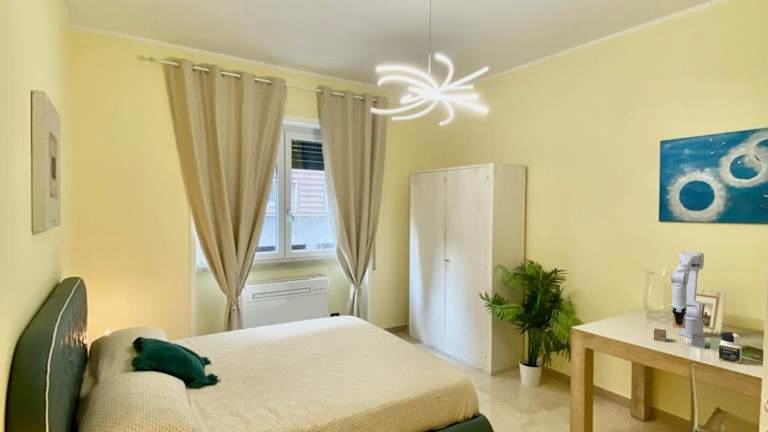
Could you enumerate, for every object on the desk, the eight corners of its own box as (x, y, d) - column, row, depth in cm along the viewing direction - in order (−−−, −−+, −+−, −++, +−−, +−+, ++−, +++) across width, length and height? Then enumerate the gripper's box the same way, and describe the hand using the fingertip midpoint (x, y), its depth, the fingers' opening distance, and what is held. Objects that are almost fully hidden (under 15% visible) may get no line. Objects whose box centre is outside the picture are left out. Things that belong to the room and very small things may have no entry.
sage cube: (710, 347, 199) (710, 336, 199) (723, 349, 196) (723, 338, 196) (710, 349, 195) (710, 339, 195) (724, 352, 192) (724, 341, 192)
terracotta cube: (673, 324, 207) (673, 314, 206) (685, 326, 204) (685, 316, 203) (672, 327, 203) (672, 317, 202) (685, 328, 200) (685, 318, 199)
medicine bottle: (718, 360, 182) (718, 333, 182) (720, 355, 188) (721, 329, 187) (739, 364, 177) (740, 336, 177) (741, 359, 182) (741, 333, 182)
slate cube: (692, 343, 204) (692, 333, 204) (704, 345, 201) (704, 335, 201) (691, 346, 200) (691, 336, 200) (704, 348, 197) (704, 338, 197)
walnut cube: (654, 337, 214) (654, 328, 214) (666, 339, 211) (666, 330, 211) (653, 340, 210) (653, 330, 210) (665, 342, 207) (665, 332, 207)
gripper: (670, 292, 211) (670, 318, 211) (668, 297, 199) (668, 325, 200) (687, 294, 207) (687, 321, 207) (686, 299, 195) (686, 328, 195)
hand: (679, 323), depth 203 cm, fingers closed on terracotta cube, 5 cm apart
